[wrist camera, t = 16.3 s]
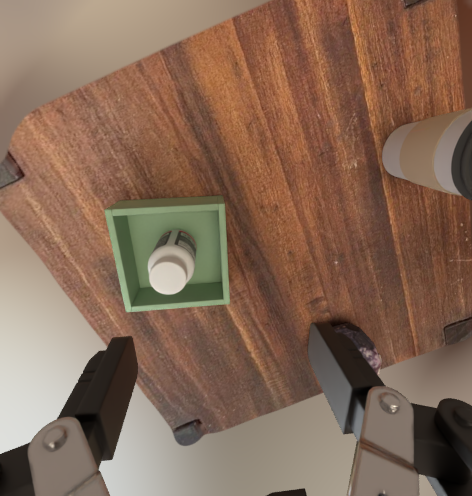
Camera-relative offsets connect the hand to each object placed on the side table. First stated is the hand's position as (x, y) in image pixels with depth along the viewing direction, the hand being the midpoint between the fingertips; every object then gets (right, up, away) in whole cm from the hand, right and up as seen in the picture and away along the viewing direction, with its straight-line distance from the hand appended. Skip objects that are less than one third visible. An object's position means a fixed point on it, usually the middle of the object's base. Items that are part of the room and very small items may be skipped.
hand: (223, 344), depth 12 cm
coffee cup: (+24, +18, +25) cm, 38 cm away
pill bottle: (-8, +5, +26) cm, 27 cm away
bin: (-8, +5, +26) cm, 28 cm away
